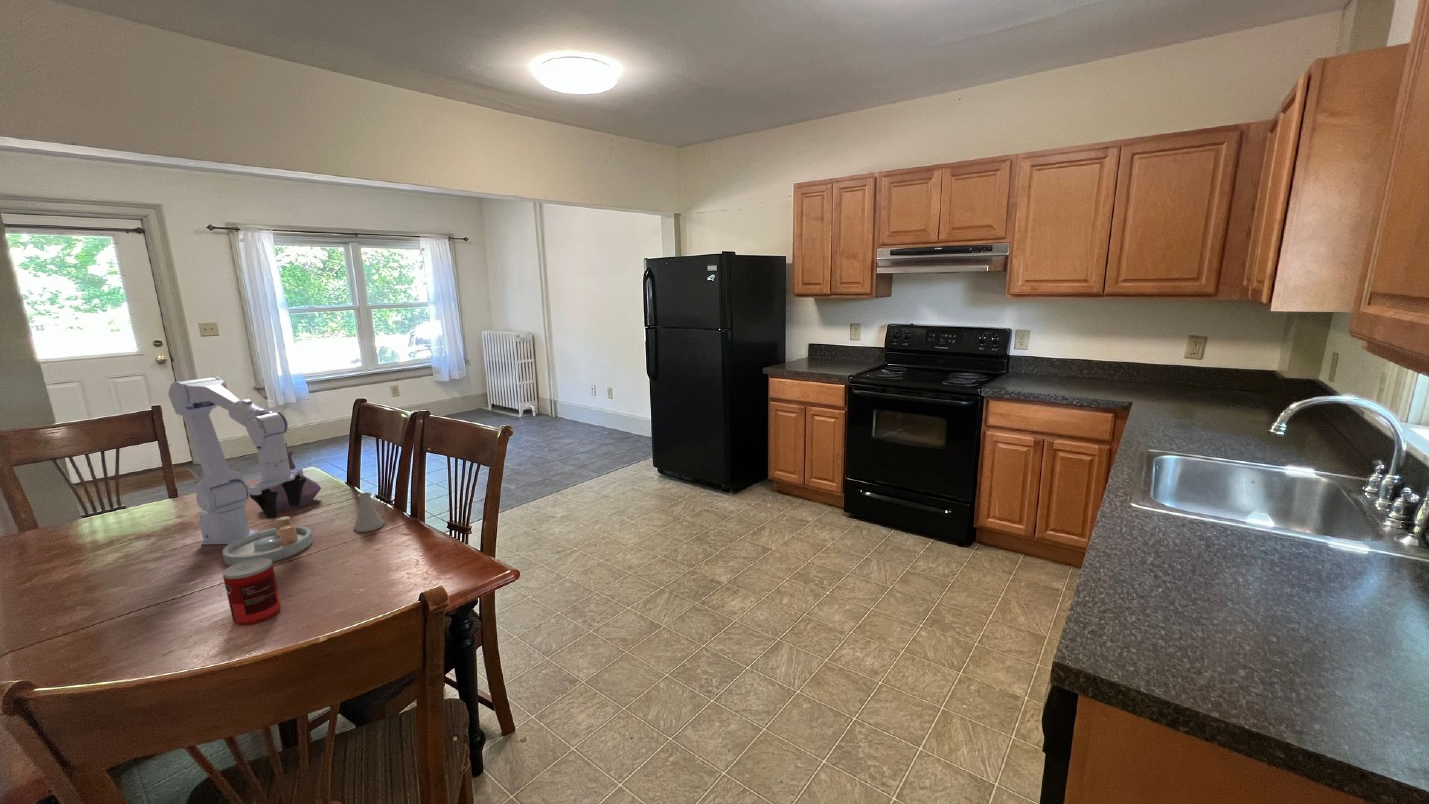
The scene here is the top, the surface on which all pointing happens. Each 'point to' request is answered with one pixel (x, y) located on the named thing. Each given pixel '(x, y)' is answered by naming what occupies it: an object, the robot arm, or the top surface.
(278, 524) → the tan rounded cylinder
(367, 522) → the flask
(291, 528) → the peach rounded cylinder
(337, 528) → the top surface
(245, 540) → the groove tray
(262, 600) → the canned food
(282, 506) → the flask
